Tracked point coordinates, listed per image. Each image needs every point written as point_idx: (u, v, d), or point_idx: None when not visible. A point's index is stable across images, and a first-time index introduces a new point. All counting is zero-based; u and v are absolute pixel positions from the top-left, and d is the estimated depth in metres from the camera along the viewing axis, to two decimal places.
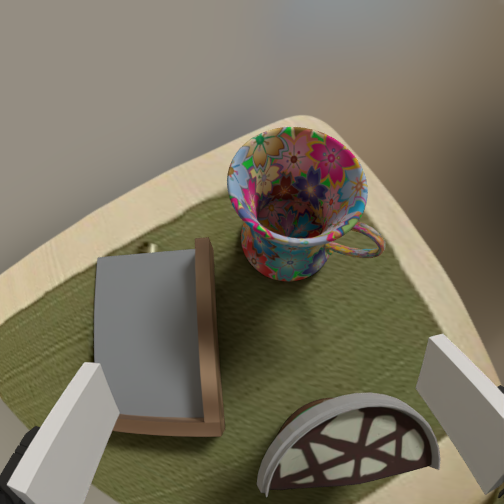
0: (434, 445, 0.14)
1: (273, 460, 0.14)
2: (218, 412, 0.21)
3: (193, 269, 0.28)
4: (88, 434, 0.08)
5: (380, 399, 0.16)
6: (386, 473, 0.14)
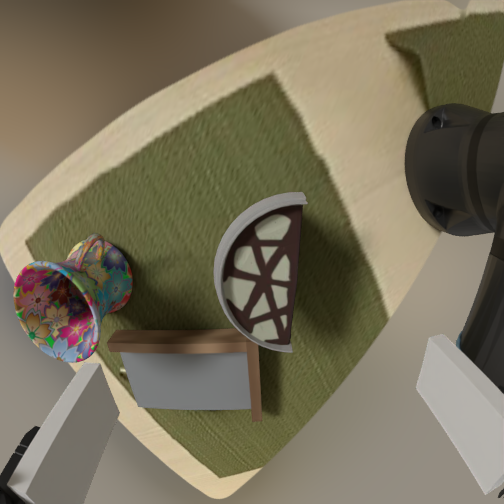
0: (277, 208, 0.20)
1: None
2: (237, 342, 0.30)
3: None
4: (88, 434, 0.08)
5: (218, 262, 0.21)
6: (294, 255, 0.21)
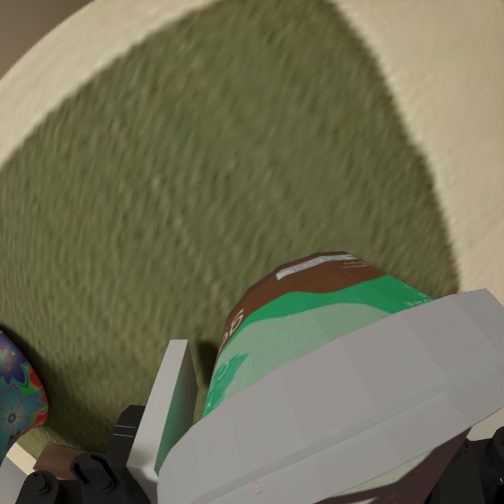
0: (437, 429, 0.03)
1: None
2: None
3: None
4: (185, 407, 0.10)
5: None
6: (419, 498, 0.04)
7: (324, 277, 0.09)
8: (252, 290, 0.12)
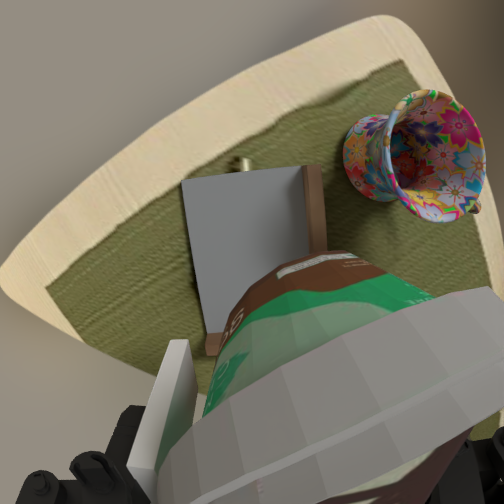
0: (440, 427, 0.03)
1: None
2: None
3: (296, 188, 0.27)
4: (185, 407, 0.10)
5: None
6: (420, 497, 0.04)
7: (325, 276, 0.09)
8: (252, 289, 0.12)
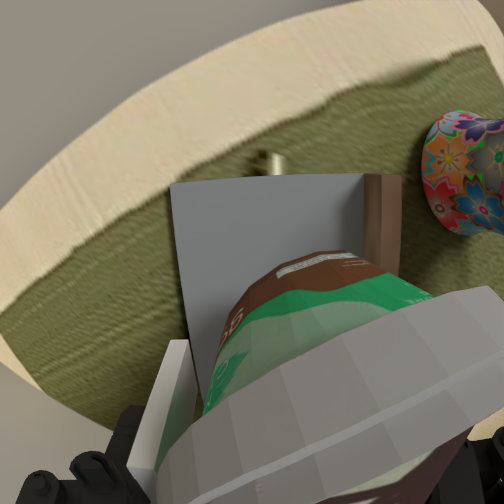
0: (439, 427, 0.03)
1: None
2: None
3: (354, 208, 0.17)
4: (185, 407, 0.10)
5: None
6: (420, 497, 0.04)
7: (324, 275, 0.09)
8: (252, 289, 0.12)
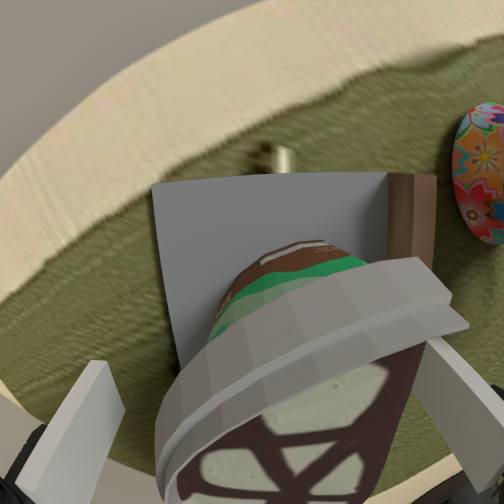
0: None
1: None
2: None
3: (376, 214, 0.13)
4: (95, 431, 0.08)
5: (156, 475, 0.06)
6: (380, 449, 0.06)
7: (297, 259, 0.10)
8: (240, 276, 0.13)
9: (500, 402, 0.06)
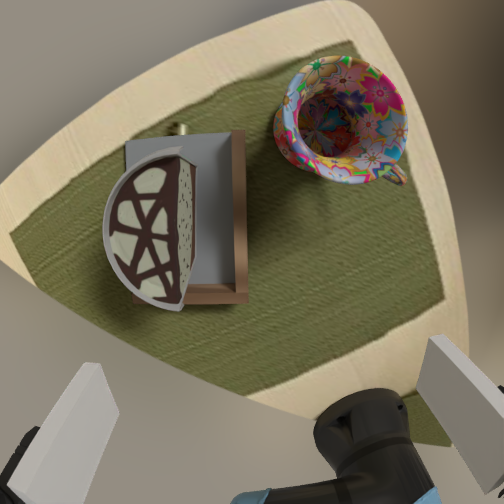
0: (150, 160, 0.19)
1: None
2: (247, 284, 0.30)
3: (225, 152, 0.28)
4: (88, 434, 0.08)
5: (103, 217, 0.20)
6: (171, 207, 0.20)
7: None
8: None
9: None
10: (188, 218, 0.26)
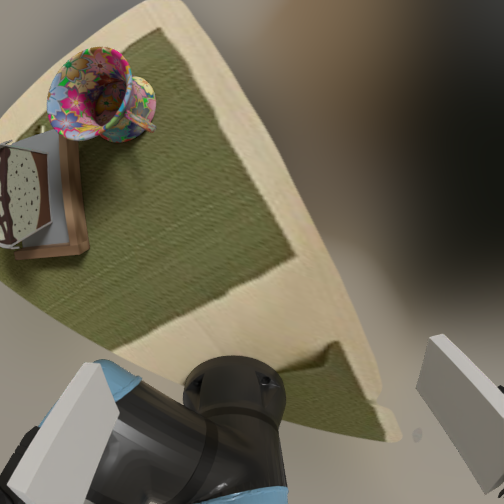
0: None
1: None
2: (76, 238, 0.33)
3: None
4: (88, 434, 0.08)
5: None
6: (2, 178, 0.24)
7: None
8: None
9: None
10: (30, 189, 0.29)
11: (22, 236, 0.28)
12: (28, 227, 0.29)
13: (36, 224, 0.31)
